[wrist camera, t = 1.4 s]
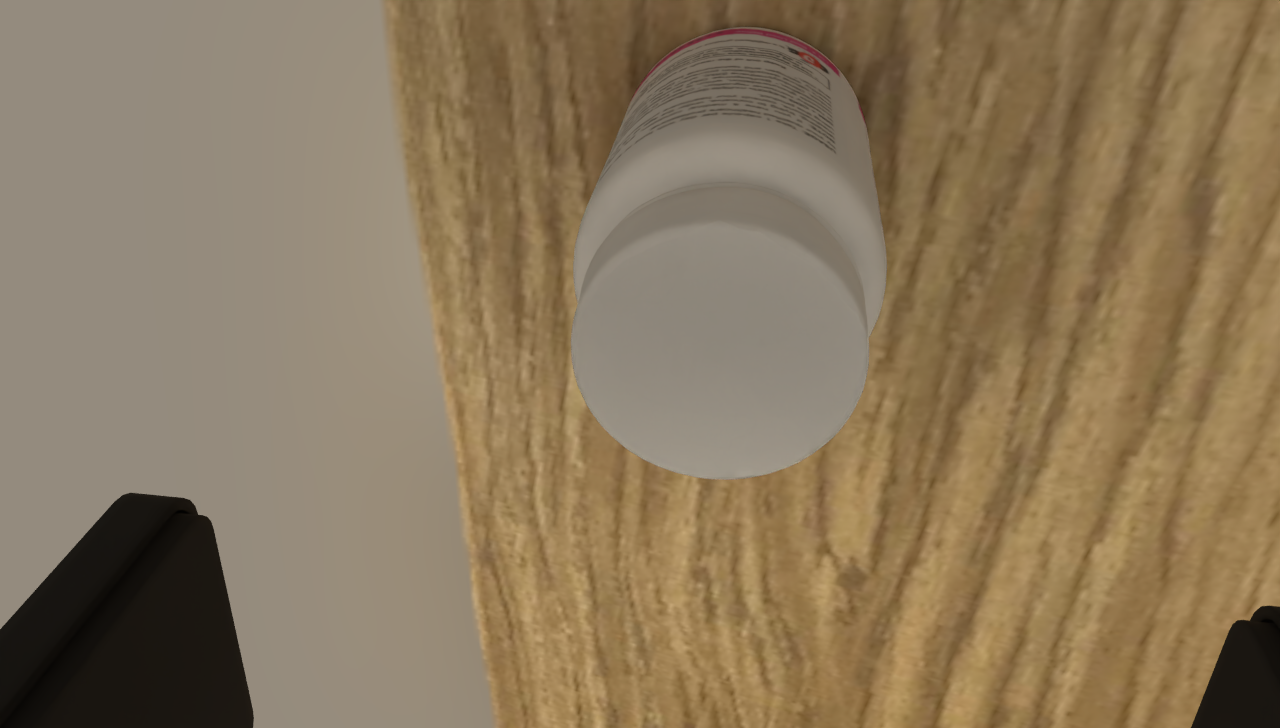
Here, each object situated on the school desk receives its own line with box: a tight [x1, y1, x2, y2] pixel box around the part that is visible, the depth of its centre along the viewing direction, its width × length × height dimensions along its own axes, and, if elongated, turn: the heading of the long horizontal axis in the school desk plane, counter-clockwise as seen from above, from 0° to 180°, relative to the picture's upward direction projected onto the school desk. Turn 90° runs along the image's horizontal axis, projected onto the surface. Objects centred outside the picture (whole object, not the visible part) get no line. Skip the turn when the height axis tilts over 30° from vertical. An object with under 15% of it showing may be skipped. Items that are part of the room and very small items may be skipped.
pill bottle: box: [571, 27, 887, 479], centre depth 18 cm, size 5×5×8 cm
